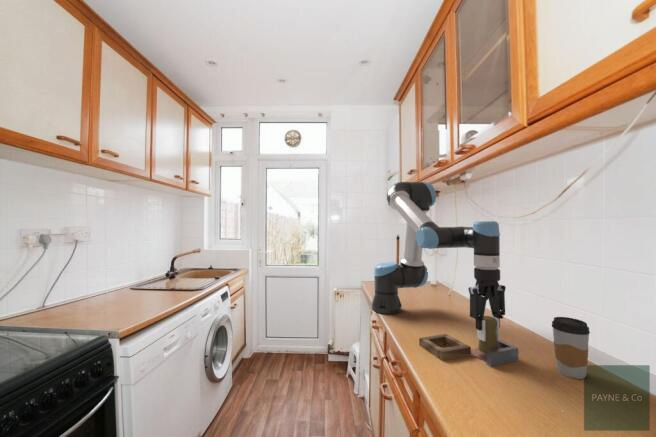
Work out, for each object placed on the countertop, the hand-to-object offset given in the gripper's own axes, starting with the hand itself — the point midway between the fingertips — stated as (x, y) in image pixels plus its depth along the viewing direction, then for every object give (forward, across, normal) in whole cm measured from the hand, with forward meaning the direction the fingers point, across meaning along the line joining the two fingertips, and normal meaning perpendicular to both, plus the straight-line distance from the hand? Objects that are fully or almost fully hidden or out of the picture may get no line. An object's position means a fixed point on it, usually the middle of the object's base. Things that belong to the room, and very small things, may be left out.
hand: (488, 338), depth 91 cm
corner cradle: (+6, 0, 0) cm, 6 cm away
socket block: (+6, -11, +8) cm, 15 cm away
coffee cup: (+6, +13, -16) cm, 21 cm away
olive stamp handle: (+4, 0, 0) cm, 4 cm away
